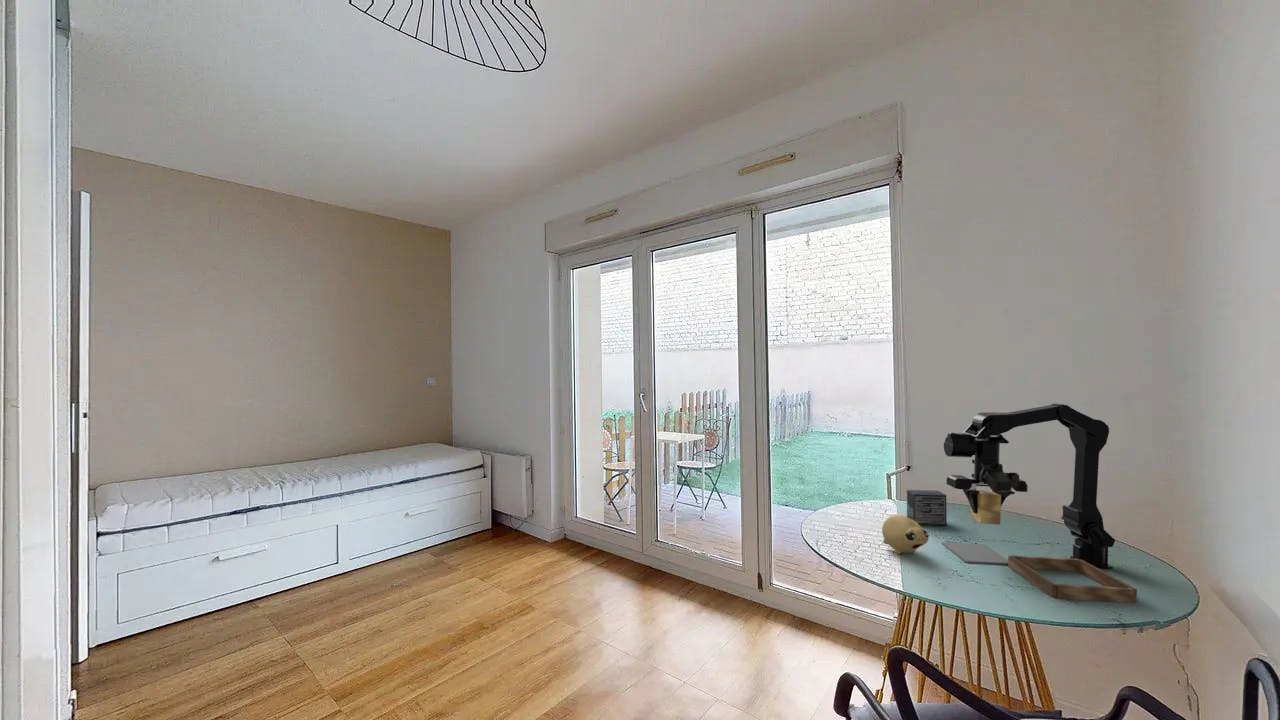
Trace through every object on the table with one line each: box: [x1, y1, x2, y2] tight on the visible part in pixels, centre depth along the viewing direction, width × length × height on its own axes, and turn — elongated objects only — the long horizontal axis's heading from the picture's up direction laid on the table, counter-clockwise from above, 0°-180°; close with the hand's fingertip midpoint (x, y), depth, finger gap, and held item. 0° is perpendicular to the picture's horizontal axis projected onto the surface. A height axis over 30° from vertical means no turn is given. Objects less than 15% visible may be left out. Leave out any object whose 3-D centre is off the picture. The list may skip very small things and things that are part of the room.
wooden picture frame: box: [1007, 554, 1138, 604], centre depth 127 cm, size 18×18×3 cm
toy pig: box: [881, 513, 930, 555], centre depth 146 cm, size 10×12×11 cm
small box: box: [906, 489, 948, 527], centre depth 172 cm, size 11×6×10 cm, turn 84°
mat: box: [940, 541, 1008, 566], centre depth 145 cm, size 12×14×1 cm
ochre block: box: [970, 489, 1002, 525], centre depth 143 cm, size 5×5×8 cm
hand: (985, 513), depth 143 cm, fingers closed on ochre block, 5 cm apart
